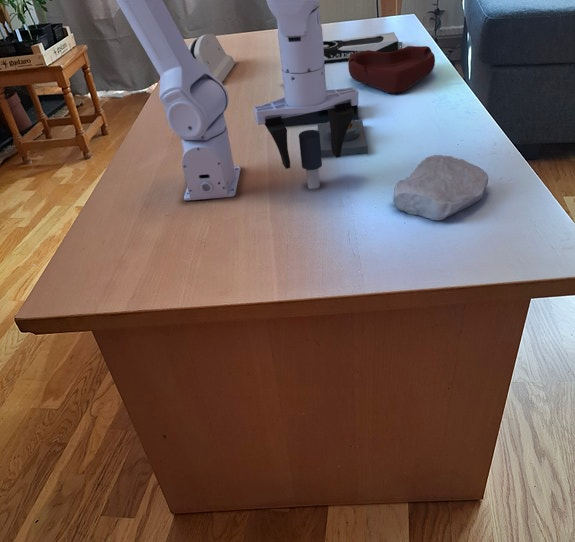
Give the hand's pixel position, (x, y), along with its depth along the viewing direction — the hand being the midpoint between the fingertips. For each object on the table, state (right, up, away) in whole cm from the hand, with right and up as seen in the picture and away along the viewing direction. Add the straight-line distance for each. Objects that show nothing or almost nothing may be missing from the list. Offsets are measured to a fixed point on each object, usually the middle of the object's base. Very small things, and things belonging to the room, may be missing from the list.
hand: (311, 160), depth 81 cm
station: (+6, +6, +14) cm, 16 cm away
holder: (+2, +13, +24) cm, 27 cm away
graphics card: (+11, +36, +54) cm, 66 cm away
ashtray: (+19, +23, +35) cm, 46 cm away
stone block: (+18, -7, -4) cm, 20 cm away
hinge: (-22, +31, +53) cm, 65 cm away
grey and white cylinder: (0, -3, +3) cm, 4 cm away
